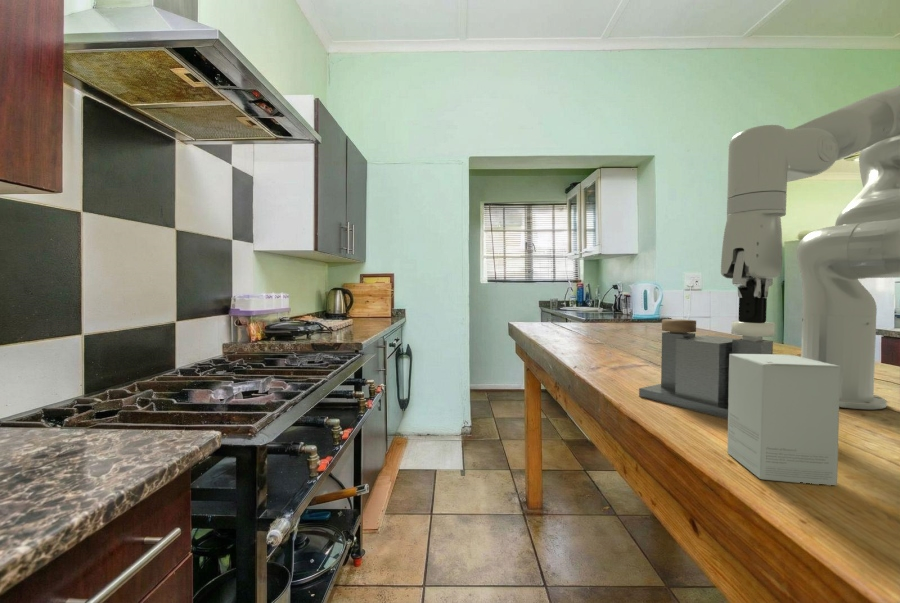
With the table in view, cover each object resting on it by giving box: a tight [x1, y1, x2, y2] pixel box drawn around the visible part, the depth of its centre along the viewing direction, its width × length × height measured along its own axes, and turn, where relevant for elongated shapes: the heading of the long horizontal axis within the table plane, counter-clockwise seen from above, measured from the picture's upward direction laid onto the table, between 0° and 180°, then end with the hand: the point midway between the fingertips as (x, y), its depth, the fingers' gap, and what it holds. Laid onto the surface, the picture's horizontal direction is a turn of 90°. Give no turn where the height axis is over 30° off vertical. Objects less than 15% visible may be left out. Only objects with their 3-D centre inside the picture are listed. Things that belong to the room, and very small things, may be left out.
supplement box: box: [726, 354, 840, 486], centre depth 44 cm, size 7×7×13 cm
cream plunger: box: [731, 320, 776, 342], centre depth 64 cm, size 6×6×12 cm
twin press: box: [638, 331, 774, 420], centre depth 69 cm, size 13×19×12 cm
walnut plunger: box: [661, 318, 697, 334], centre depth 74 cm, size 6×6×12 cm
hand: (752, 322), depth 64 cm, fingers closed
